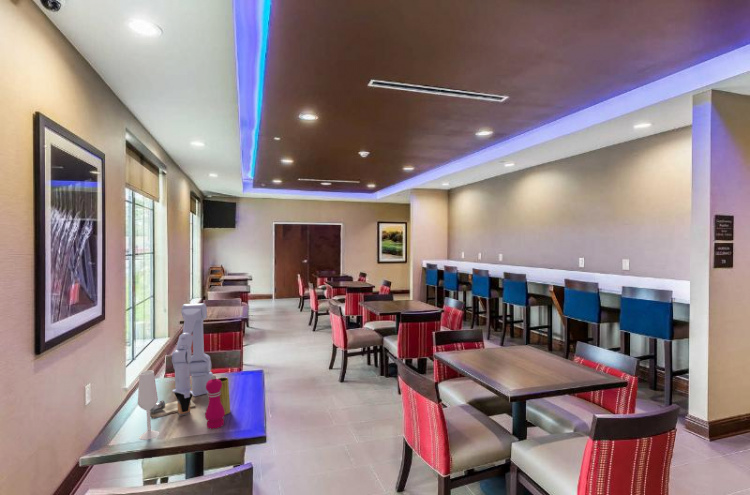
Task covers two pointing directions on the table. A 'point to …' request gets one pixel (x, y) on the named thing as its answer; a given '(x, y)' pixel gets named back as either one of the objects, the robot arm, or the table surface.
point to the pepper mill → (214, 404)
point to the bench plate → (170, 409)
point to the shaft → (158, 407)
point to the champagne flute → (147, 400)
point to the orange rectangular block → (181, 409)
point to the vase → (225, 395)
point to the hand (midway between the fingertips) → (183, 409)
